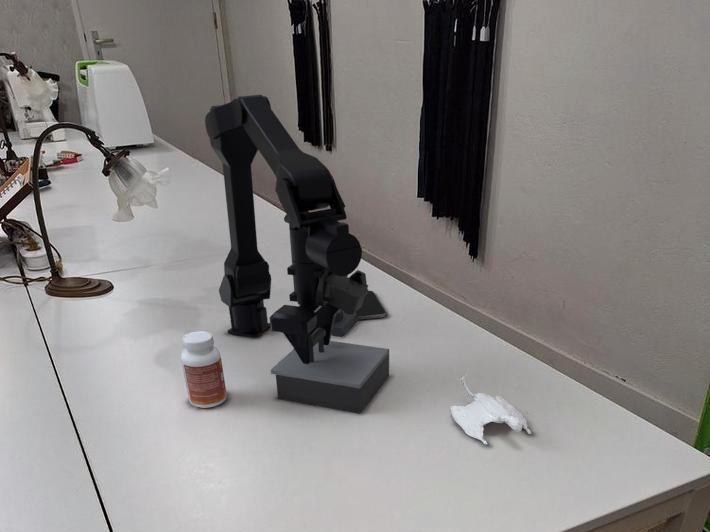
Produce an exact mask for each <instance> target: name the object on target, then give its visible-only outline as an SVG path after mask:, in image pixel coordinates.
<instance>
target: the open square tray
mask: <svg viewBox="0 0 710 532" xmlns="http://www.w3.org/2000/svg"><path fill="white" fill-rule="evenodd" d="M389 377H390V353H389V354H388V355H387V356H386V358H385V359H384V360H383V361H382V363H381V364H380V365H379V366H378V367H377V369H376V370H375V371H374V372H373V373H372V375H371V376H370V377H369V378H368V380H367V381H366V382H365V383H364V384H363V386H362V387H361V388H360V389H359V388H353V387H347V386H341V385H335V384H329V383H323V382H317V381H311V380H305V379H299V378H293V377H287V376H281V375H275V382H276V383H275V384H276V393H277V399H278V400H283V401H289V402H294V403H299V404H306V405H311V406H317V407H323V408H328V409H333V410H339V411H344V412H350V413H356V414H362V413H363V411H364V410H365V408H366V407H367V406H368V404H370V402H371V400H373V398H374V397H375V396H376V394H377V393H378V392H379V391H380V389H381V387H382V386H384V384H385V382H387V380H388V379H389Z"/></svg>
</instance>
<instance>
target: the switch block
mask: <svg viewBox="0 0 710 532" xmlns="http://www.w3.org/2000/svg"><path fill="white" fill-rule="evenodd" d="M357 322H358V320H357V314H353V315H349V314H346V313H344V312H343V310H341V309H339V310H338V312H337V314H336V318H335V321H334V326H333V330H332V334H331V336H336V337H344V335H346V334H347V332H349V331H350V329H351V328H353V326H355V325H356V324H357Z"/></svg>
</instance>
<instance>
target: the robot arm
mask: <svg viewBox="0 0 710 532" xmlns="http://www.w3.org/2000/svg"><path fill="white" fill-rule="evenodd" d="M204 126H205V131H206V135H207V136H208V138H209V142H210V147H211V149H212V150H213V152H214V153H215V154H216V156H217V157H218V159H219V160H220V162H221V163H222V173H223V181H224V192H225V201H226V210H227V211H226V212H227V221H228V231H229V240H230V241H229V242H230V250H229V251H228V254H227V256H226V258H225V260H224V262H223V276H222V280H221V283H220V285H219V288H218V293H219V297H220V301H221V302H222V303H223V304H225V305H226V306H227V307H228V311H229V318H230V326H231V327H230V328H229V329H228V330H227V334H228V335H235V336H243V337H249V338H257V337H258V336H260V335H261V334H262V333H263V332H265V331H266V330H267V329H269V328H270V331H271V332H276V333H280V334H281V333H282V334H283V335H284V336H285V338H286V339H287V341H289V343H290V344H291V346H292V348H293V349H294V350H295V351H296V353H297V354H298V356H299V358H300V359H301V361H302V362H303V363H304V364H309V363H310V357H311V342H312V334H313V333H314V332H315V331H316V330H317V329H318V328H323V329H325V331H326V335H325V336H324V337H323V342H324V345H329V342H330V341H331V338H332V335H331V334H332V330H333V326H334V321H335V318H336V314H337V312H338V310H339V309H341V310H343V312H344V313H346V314H349V315H353V314H355V312H356V311H357V310H358V309H359V308H361V306H362V303H363V300H364V297H365V295H366V294H367V293H368V292H369V291H370V290H369V289H368V287H369V285H368V284H367V282H368V281H367V275H366V274H367V273H365V272H363V271H361V270H359V269H357V268H358V267H359V265H360V263H361V260H362V254H363V247H362V246H361V243H360V241H359V239H358V238H357V237H356V236H355V235H354V234H351V233H350V226H349V224H348V223H346V222H344V220H347V217H348V216H347V213H346V211H345V207H346V204H345V203H344V200H343V198H342V196H341V194H340V191H339V190H338V187H337V184H336V181H335V179H334V176H333V175H332V172H331V171H330V170H329V169H328V167H327V166H326V165H325V164H324V163H323V162H322V161H321V160H320V159H319V158H318V157H316V156H314V155H311V154H308V153H307V152H303V151H302V150H301V148H300V147H299V146H298V144H297V142H295V140H294V139H293V138H292V136H291V135H290V133H289V132H288V131H287V129H286V127H285V126H284V125H283V123H282V121H280V119H279V118H278V116H277V115H276V114H275V112H274V111H273V110H272V105H271V102H270V99H269V98H268V97H267V96H266V95H263V94H253V95H252V94H250V95H241V96H238V97H237V98H234V99H232V100H231V101H230V102H227V103H224V104H218V105H212V106H210V109H209V112H207V114H206V115H205V118H204ZM258 152H259V153H260V154H261V156H262V157H263V159H264V160H265V162H266V163H267V165H268V166H269V168H270V169H271V171H272V173H273V174H274V176H275V178H276V181H275V187H274V188H275V189H274V191H275V193H276V195H277V198H278V201H279V203H280V205H281V207H282V208H283V211H284V212H285V215H284V217H283V221H284V222H285V223H286V224H288V229H289V241H290V242H289V243H290V256H291V257H290V258H291V264H290V265H289V266H288V267H286V272H287V275H288V276H292V278H293V279H292V281H293V291H292V292H290V293H289V296H288V297H289V302H296V303H297V305H290V304H283V305H282V306H281V307H279V308H278V309H277V310H275V311H274V312H273V313H272V314H271V315H270V317H269V321H268V313H267V307H266V306H265V302H264V301H265V300H270V299H271V292H272V290H271V289H272V275H271V274H270V264H269V263H268V261H267V260H265V258H264V257H263V255H262V254H261V253H260V252H259V249H258V238H257V226H256V225H257V224H256V212H255V199H254V184H253V173H252V163H253V161H254V160H255V157H256V155H257V154H258ZM328 207H329V208H328ZM341 221H343V222H341ZM356 269H357V270H356ZM350 274H351V275H350ZM349 275H350V276H349Z"/></svg>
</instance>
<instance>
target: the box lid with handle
mask: <svg viewBox="0 0 710 532" xmlns="http://www.w3.org/2000/svg"><path fill="white" fill-rule="evenodd" d="M325 335H326V331H325V329H323V328H318V329H317V330H316V331H315V332H314V333H313V334H312V342H311V357H310V363H309V364H304V363H303V362H302V361H301V359H300V358H299V356H298V354H297V353H296V351H295V350H294V348H293V349H292V350H291V351H289V353H288V354H286V355H285V356H284V357H283V358H282V359H281V360H280V361H278V363H277V364H275V365H274V366H273V367H272V368H271V369H270V375H275V376H276V375H281V376H287V377H293V378H299V379H305V380H311V381H317V382H323V383H329V384H335V385H341V386H347V387H353V388H359V389H360V388H361V387H362V386H363V384H364V383H365V382H366V381H367V380H368V378H369V377H370V376H371V375H372V373H373V372H374V371H375V370H376V369H377V367H378V366H379V365H380V364H381V363H382V361H383V360H384V359H385V358H386V356H387V355H388V354H389V355H390V348H386V347H379V346H378V347H377V346H371V345H370V346H369V345H364V344H357V343H350V342H343V341H336V340H330V342H329V345H324V342H323V337H324V336H325Z"/></svg>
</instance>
